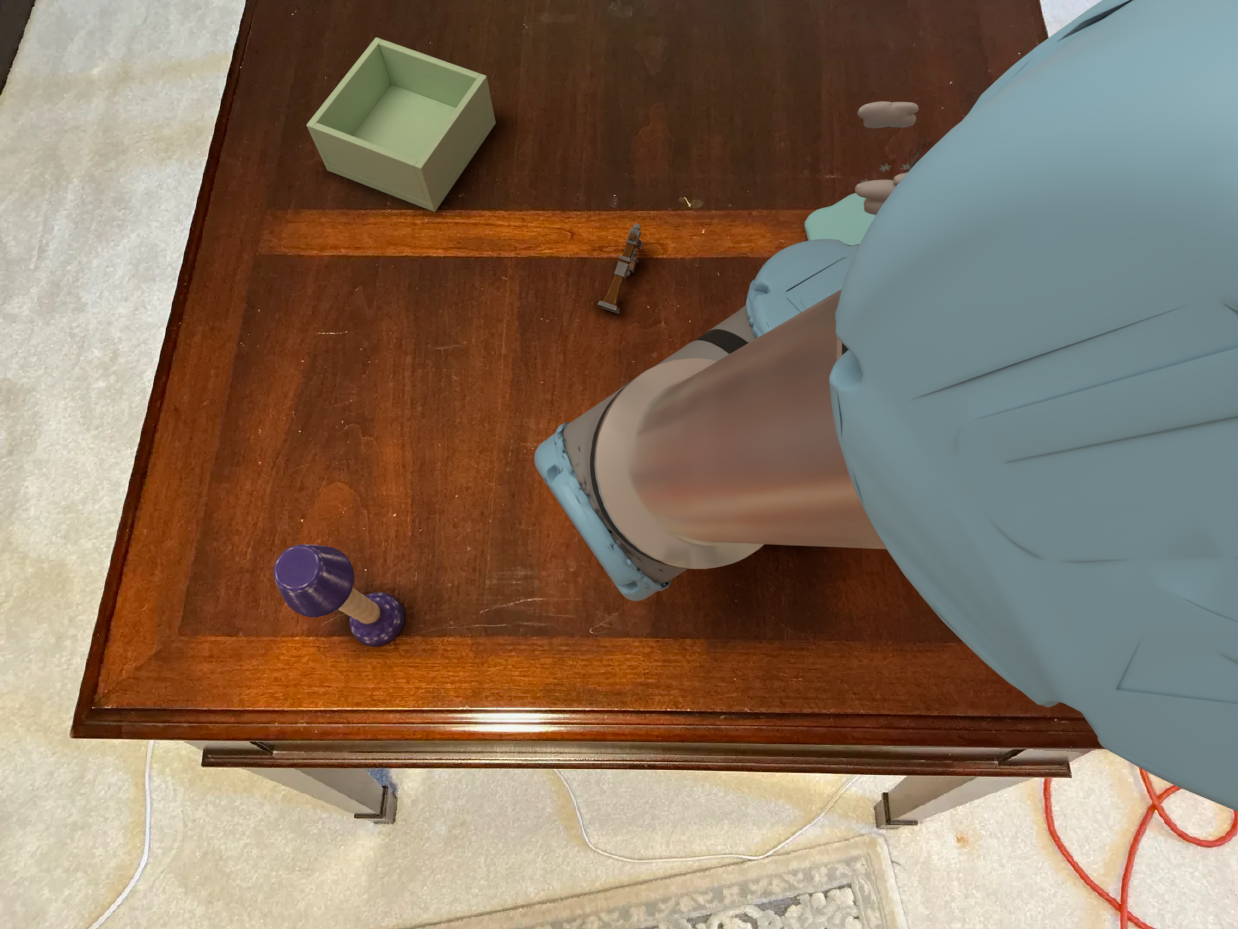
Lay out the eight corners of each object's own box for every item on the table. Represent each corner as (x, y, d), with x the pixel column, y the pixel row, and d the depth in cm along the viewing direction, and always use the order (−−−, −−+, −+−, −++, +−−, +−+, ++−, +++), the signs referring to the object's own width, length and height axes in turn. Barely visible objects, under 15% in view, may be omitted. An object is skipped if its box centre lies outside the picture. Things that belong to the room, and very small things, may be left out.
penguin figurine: (1006, 200, 82) (1083, 72, 68) (1026, 293, 78) (1113, 177, 64) (798, 201, 82) (832, 74, 68) (808, 295, 78) (846, 179, 64)
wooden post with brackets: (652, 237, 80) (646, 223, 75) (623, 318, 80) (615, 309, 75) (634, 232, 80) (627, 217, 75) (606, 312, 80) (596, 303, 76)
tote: (496, 123, 86) (486, 75, 81) (435, 212, 82) (420, 168, 77) (391, 85, 89) (375, 36, 83) (327, 170, 84) (305, 124, 79)
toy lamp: (400, 654, 66) (329, 603, 50) (340, 653, 66) (251, 602, 50) (407, 593, 68) (341, 526, 52) (349, 592, 68) (266, 525, 52)
